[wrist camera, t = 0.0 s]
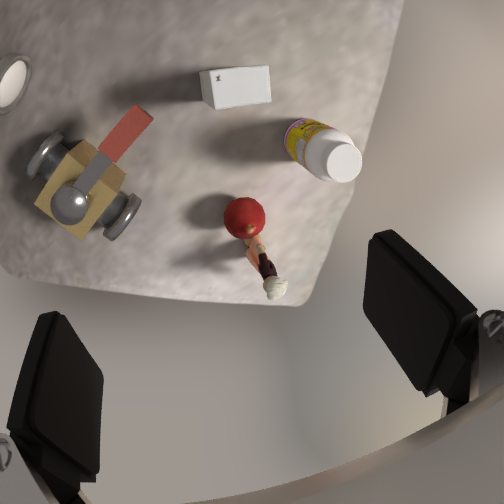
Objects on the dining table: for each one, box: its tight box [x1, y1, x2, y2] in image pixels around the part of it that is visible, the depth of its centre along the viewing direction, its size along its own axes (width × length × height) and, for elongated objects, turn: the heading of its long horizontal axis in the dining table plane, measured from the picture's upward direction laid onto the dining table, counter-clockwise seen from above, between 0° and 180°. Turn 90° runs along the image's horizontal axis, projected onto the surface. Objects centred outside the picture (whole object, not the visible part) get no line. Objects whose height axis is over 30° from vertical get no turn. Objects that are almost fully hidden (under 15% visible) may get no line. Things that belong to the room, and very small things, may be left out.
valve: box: [25, 131, 142, 241], centre depth 37 cm, size 15×8×8 cm, turn 43°
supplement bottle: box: [284, 119, 362, 183], centre depth 40 cm, size 7×7×13 cm
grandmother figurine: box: [244, 234, 288, 300], centre depth 48 cm, size 8×4×13 cm, turn 30°
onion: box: [224, 197, 265, 239], centre depth 45 cm, size 6×6×8 cm
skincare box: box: [199, 65, 271, 110], centre depth 34 cm, size 6×4×12 cm
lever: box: [50, 103, 154, 225], centre depth 32 cm, size 16×5×2 cm, turn 133°
